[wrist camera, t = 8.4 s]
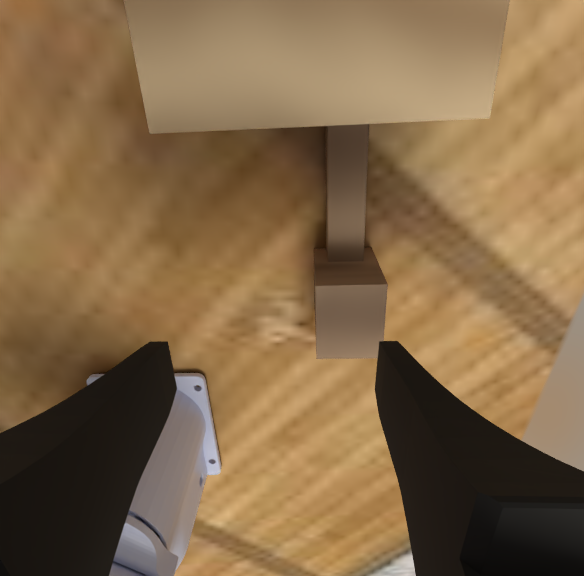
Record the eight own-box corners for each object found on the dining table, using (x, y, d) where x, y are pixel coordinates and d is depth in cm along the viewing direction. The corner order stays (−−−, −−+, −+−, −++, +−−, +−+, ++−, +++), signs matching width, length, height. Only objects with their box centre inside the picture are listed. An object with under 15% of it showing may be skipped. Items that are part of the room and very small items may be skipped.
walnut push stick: (383, 309, 23) (400, 357, 19) (300, 311, 23) (298, 359, 19) (405, -11, 16) (441, -53, 12) (287, -4, 16) (280, -41, 12)
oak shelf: (439, 113, 18) (489, 118, 13) (191, 125, 19) (149, 133, 14) (464, -99, 15) (543, -199, 10) (161, -76, 15) (92, -160, 10)
